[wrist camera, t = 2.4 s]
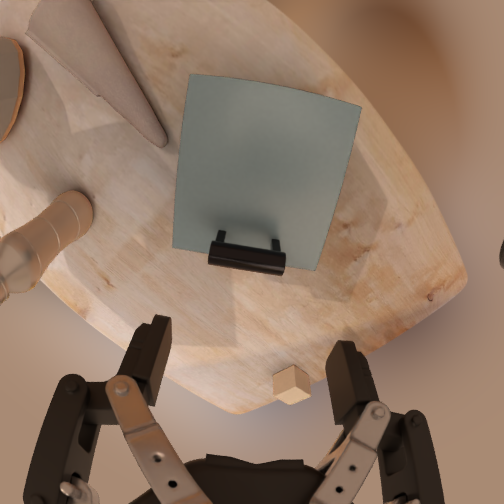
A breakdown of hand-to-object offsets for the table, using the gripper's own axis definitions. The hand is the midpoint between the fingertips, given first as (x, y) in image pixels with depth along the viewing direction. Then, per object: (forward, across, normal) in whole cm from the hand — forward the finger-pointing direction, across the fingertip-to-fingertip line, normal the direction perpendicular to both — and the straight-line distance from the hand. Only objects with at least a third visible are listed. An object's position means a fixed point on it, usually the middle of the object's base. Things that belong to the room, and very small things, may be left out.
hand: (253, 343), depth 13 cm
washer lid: (+13, 0, -4) cm, 14 cm away
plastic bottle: (+23, +24, +6) cm, 34 cm away
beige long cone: (+23, +19, -15) cm, 34 cm away
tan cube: (+23, -13, +34) cm, 43 cm away
